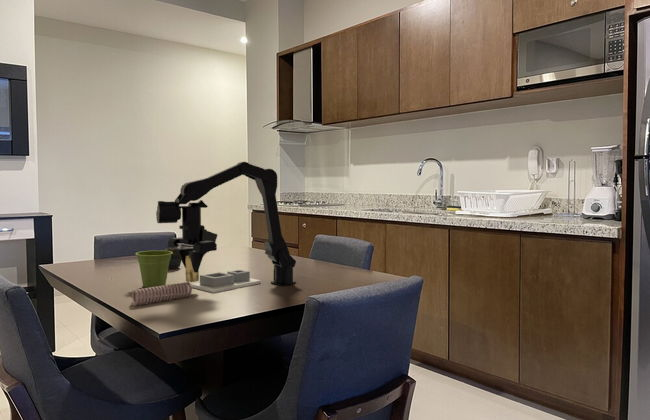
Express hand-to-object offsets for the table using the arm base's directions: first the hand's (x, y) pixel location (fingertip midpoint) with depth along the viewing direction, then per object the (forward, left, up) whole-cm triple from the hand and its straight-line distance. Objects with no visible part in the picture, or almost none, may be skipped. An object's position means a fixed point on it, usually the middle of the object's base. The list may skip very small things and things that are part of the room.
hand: (192, 271), depth 154 cm
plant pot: (+18, +3, -7) cm, 19 cm away
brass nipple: (0, 0, -3) cm, 3 cm away
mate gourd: (+44, -19, -7) cm, 48 cm away
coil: (-3, +12, -7) cm, 14 cm away
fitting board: (+1, -14, -7) cm, 16 cm away
